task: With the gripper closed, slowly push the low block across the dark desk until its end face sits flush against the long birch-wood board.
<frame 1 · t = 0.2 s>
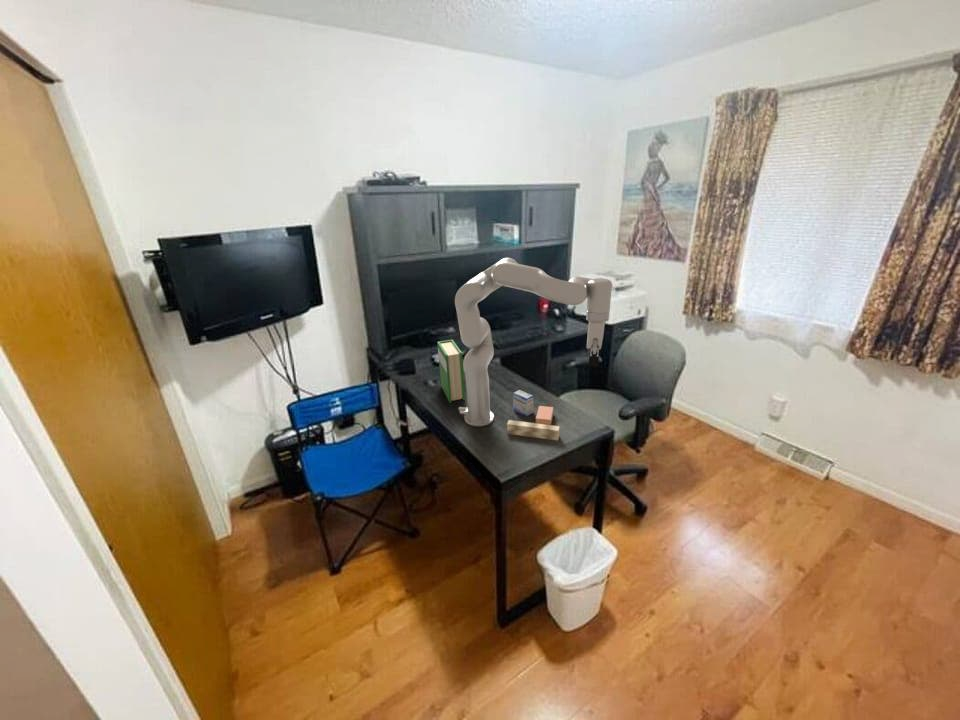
hand: (593, 360, 139), 31 cm above the table, fingers open, 9 cm apart
medicine box: (523, 411, 167), on the table
board: (532, 434, 151), on the table
hardback book: (452, 393, 185), on the table
block: (544, 420, 160), on the table
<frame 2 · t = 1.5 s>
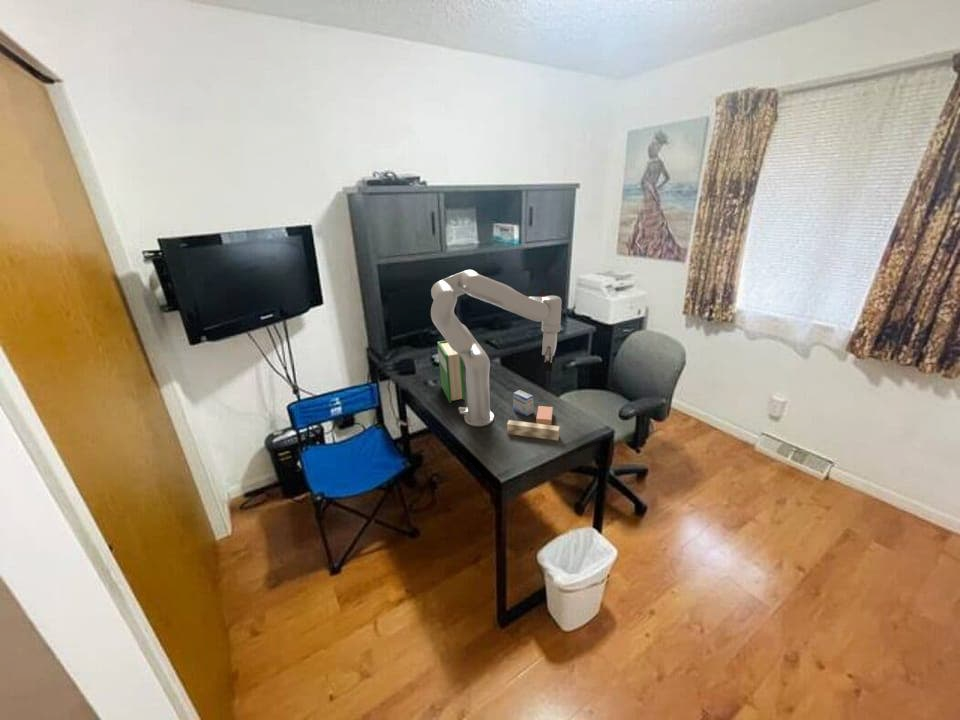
hand: (549, 366, 162), 20 cm above the table, fingers open, 7 cm apart
nothing on the table moved.
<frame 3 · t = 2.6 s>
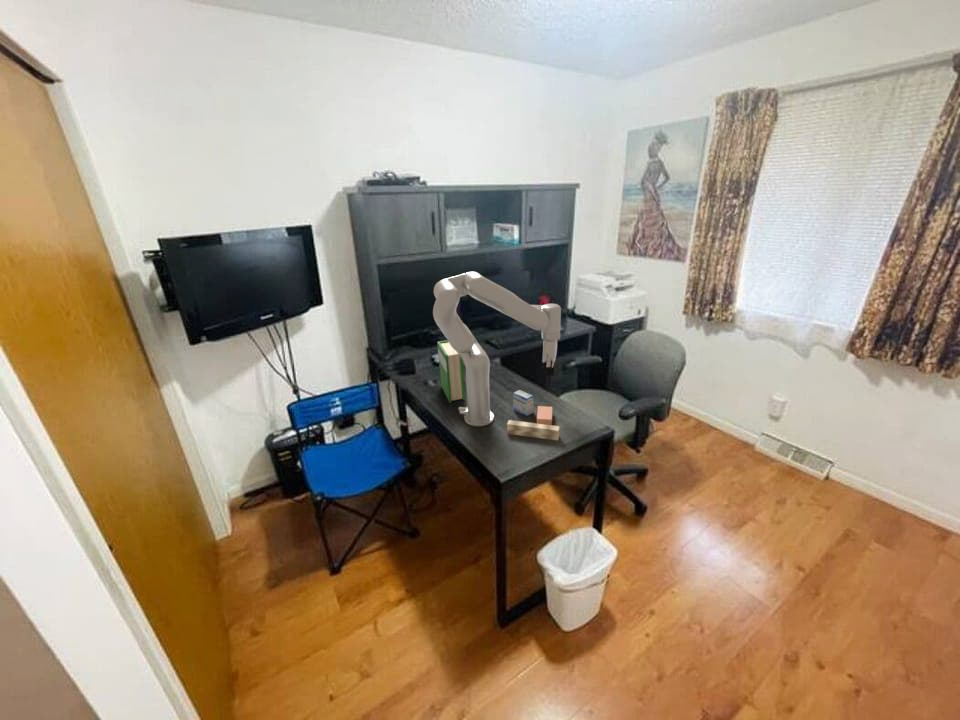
hand: (550, 374, 163), 16 cm above the table, fingers closed
nothing on the table moved.
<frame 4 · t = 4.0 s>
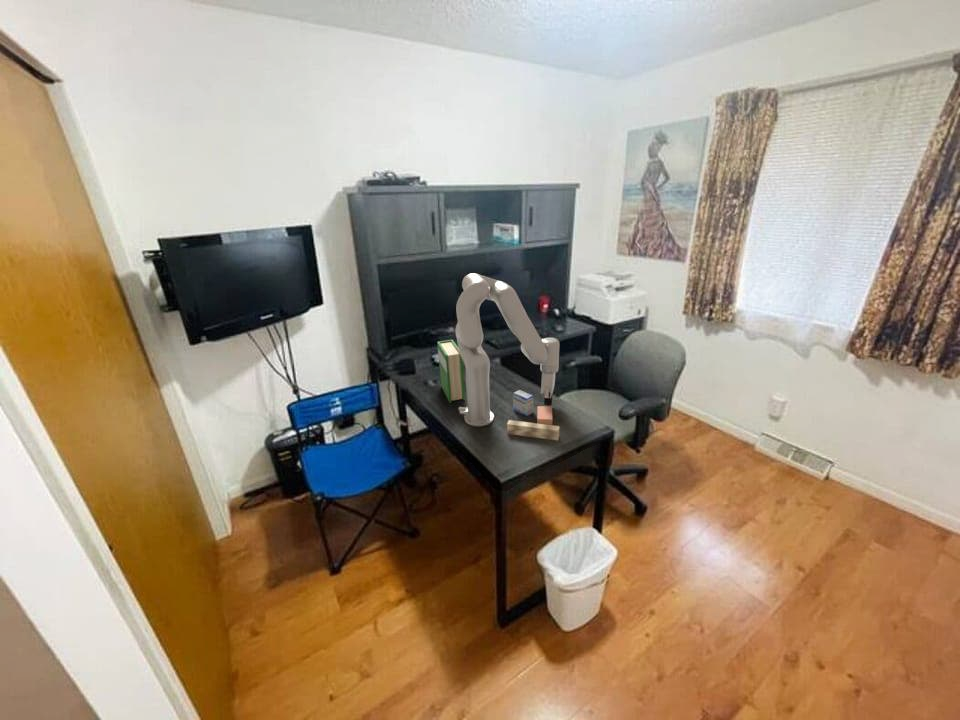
hand: (548, 404, 169), 1 cm above the table, fingers closed
nothing on the table moved.
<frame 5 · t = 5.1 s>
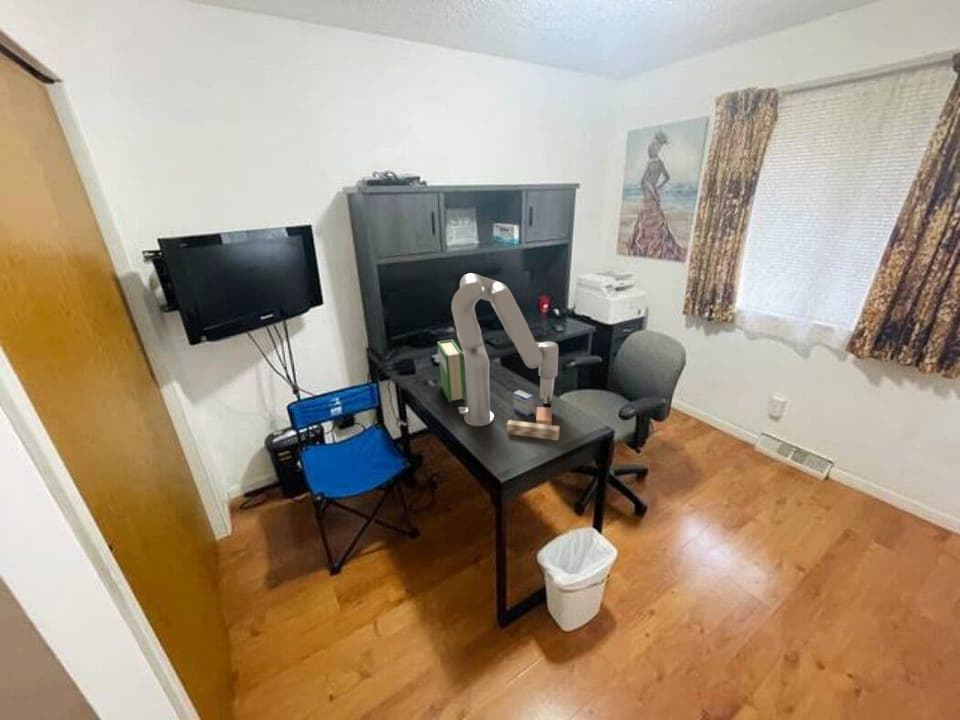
hand: (546, 409, 165), 1 cm above the table, fingers closed
block: (543, 421, 159), on the table, touching gripper
everything else where it was.
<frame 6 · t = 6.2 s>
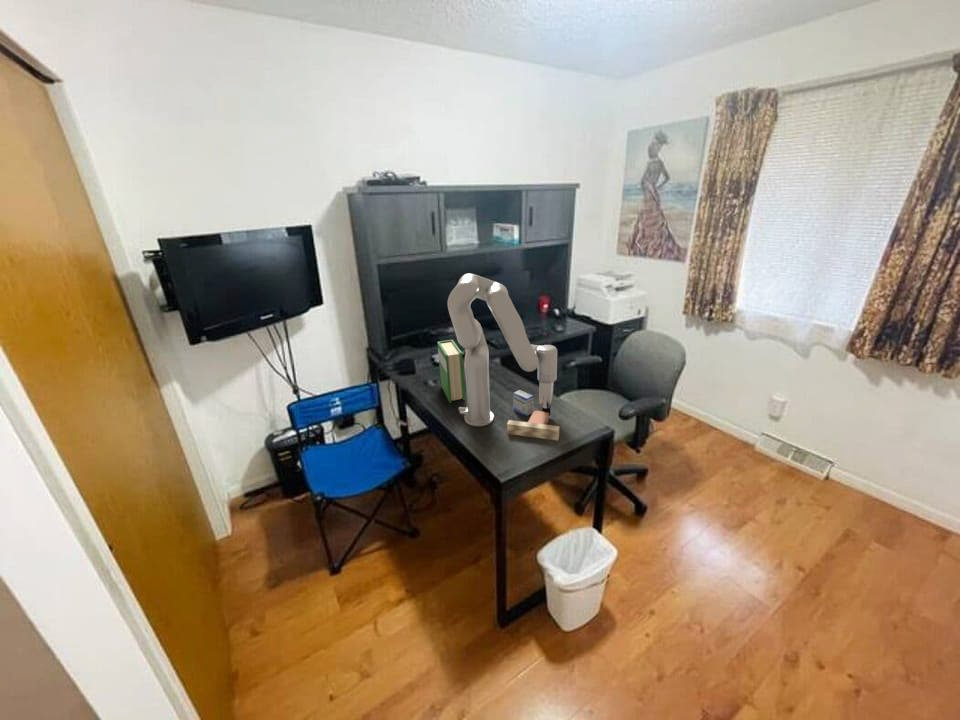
hand: (546, 414, 161), 2 cm above the table, fingers closed
block: (538, 425, 157), on the table, touching board, gripper
everything else where it was.
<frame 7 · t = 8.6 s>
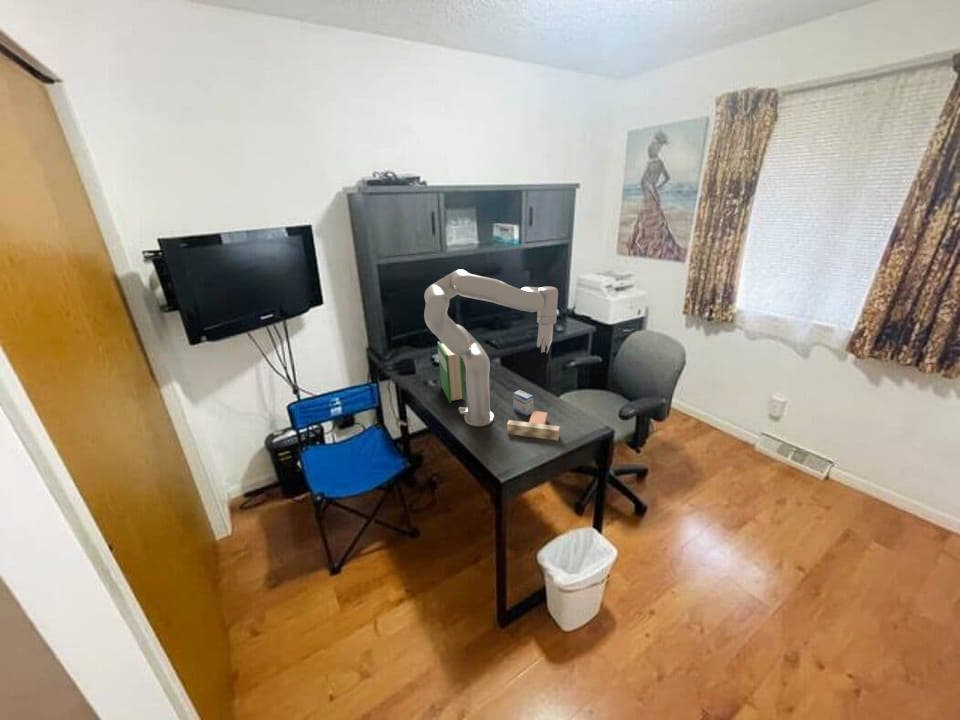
hand: (544, 360, 159), 23 cm above the table, fingers closed
block: (537, 426, 157), on the table
everything else where it was.
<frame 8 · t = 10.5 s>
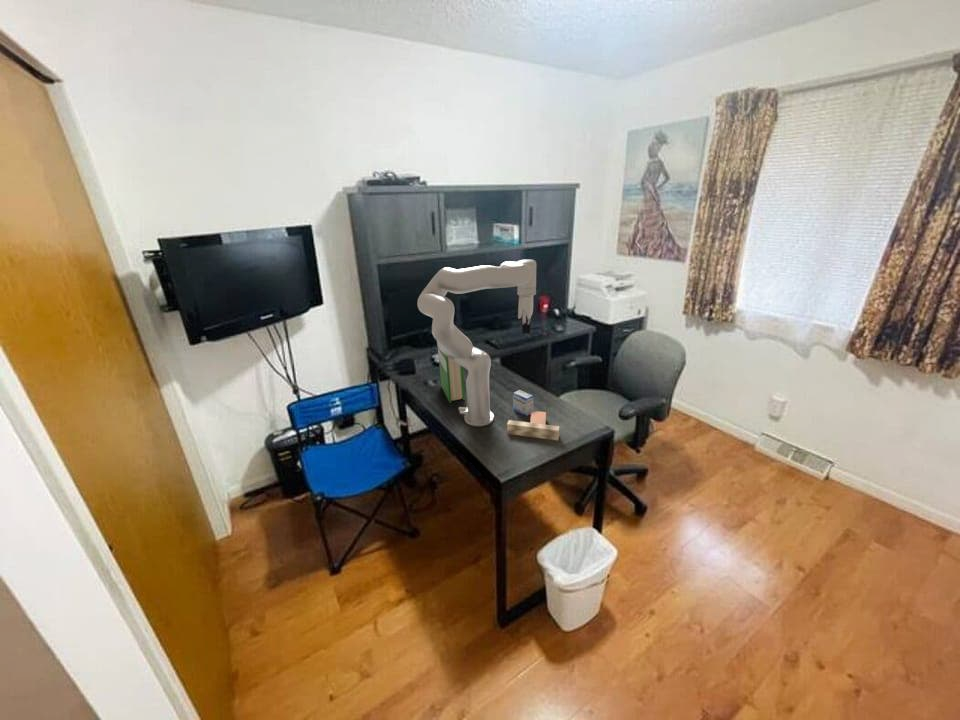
hand: (526, 332, 165), 32 cm above the table, fingers closed
nothing on the table moved.
at the end: block inside the target area on the table beside the board (2.0 cm from its centre), on the table; block tilted 0° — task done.
